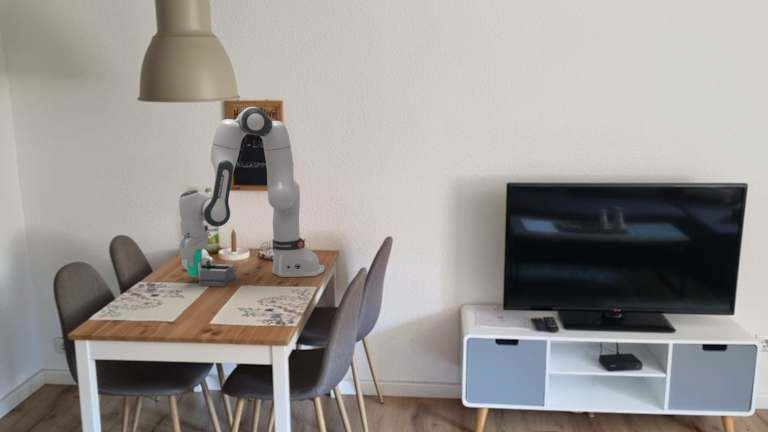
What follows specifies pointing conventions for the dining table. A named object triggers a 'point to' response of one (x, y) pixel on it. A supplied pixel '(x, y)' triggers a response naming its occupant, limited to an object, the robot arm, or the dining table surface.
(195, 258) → the candle
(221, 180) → the robot arm
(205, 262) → the light grey block
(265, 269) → the dining table surface
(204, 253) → the mug
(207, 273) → the grey box
